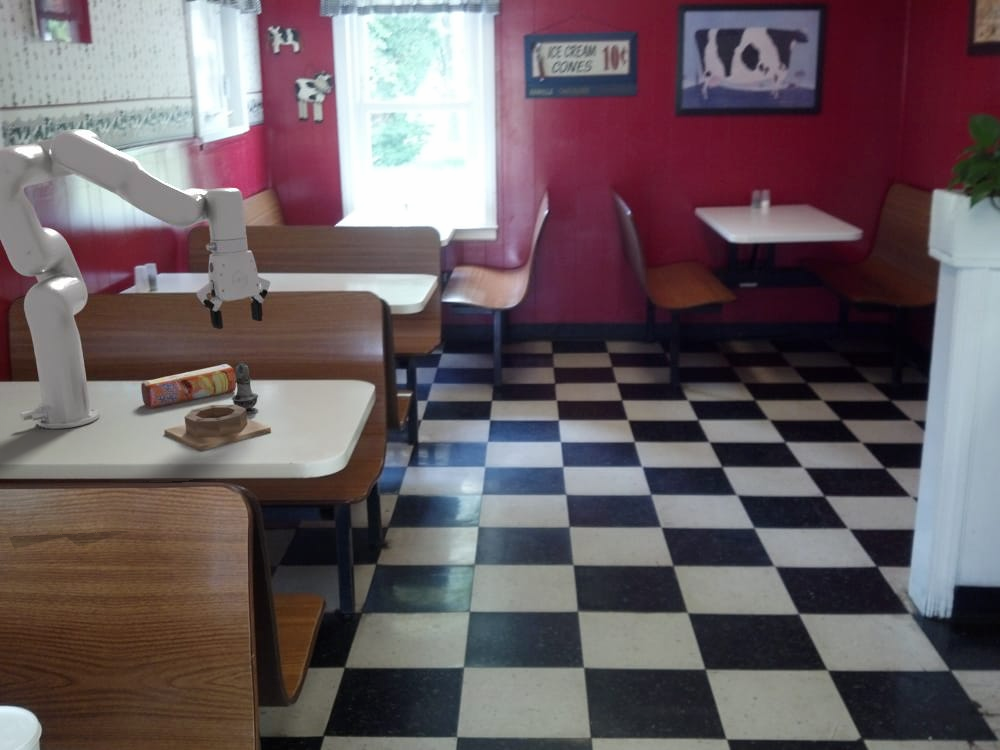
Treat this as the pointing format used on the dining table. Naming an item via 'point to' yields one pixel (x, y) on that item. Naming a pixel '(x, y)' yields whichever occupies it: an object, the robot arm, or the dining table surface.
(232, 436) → the collar
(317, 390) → the dining table surface
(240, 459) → the dining table surface
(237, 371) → the grey upright turned piece
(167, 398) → the snack package
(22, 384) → the dining table surface
